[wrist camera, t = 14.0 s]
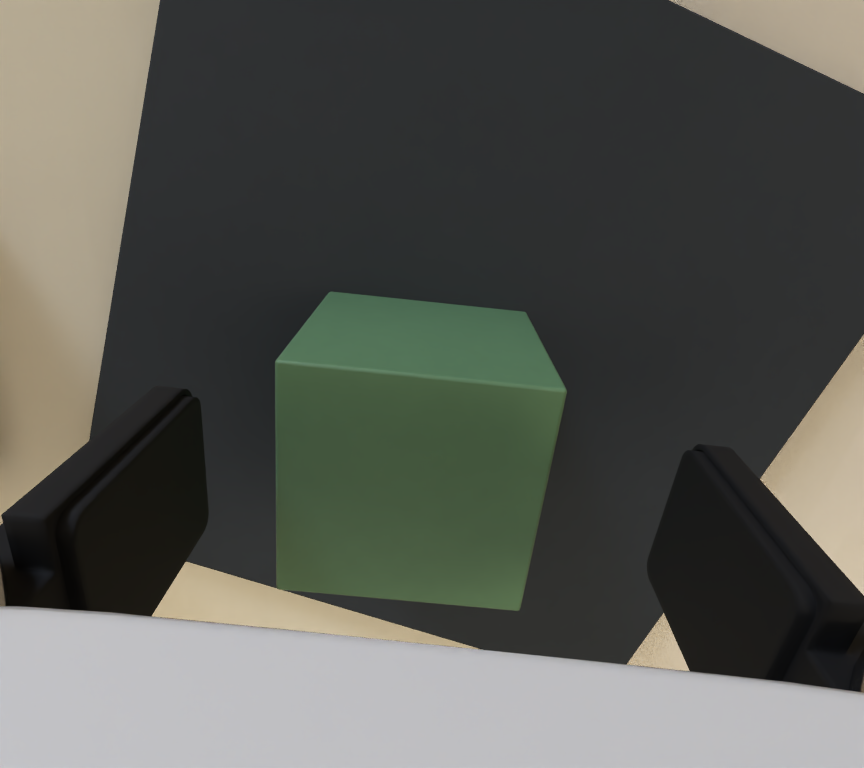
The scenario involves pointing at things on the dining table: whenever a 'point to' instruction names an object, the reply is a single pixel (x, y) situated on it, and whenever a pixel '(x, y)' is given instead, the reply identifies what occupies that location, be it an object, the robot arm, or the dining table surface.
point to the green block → (412, 451)
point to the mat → (495, 252)
